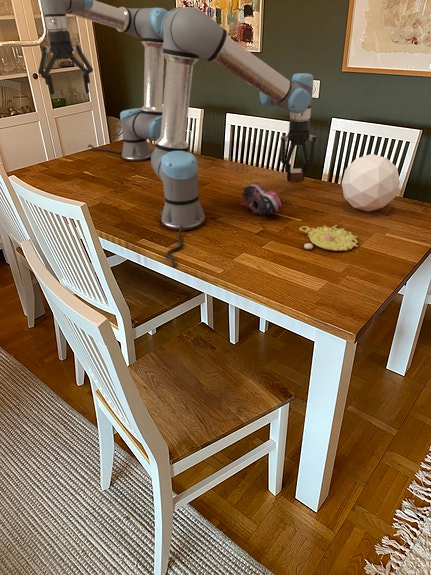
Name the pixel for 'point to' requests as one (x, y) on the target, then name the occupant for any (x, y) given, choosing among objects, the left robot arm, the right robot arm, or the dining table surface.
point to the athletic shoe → (261, 200)
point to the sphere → (370, 182)
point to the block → (296, 176)
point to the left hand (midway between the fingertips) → (70, 93)
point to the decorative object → (330, 238)
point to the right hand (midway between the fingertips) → (295, 179)
